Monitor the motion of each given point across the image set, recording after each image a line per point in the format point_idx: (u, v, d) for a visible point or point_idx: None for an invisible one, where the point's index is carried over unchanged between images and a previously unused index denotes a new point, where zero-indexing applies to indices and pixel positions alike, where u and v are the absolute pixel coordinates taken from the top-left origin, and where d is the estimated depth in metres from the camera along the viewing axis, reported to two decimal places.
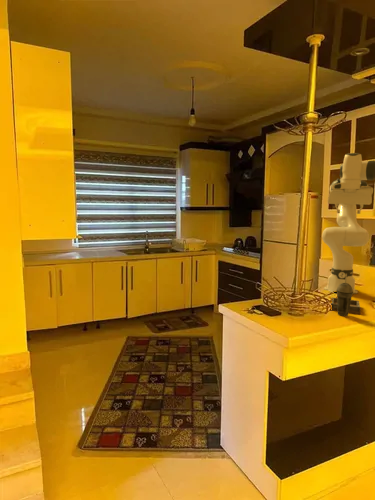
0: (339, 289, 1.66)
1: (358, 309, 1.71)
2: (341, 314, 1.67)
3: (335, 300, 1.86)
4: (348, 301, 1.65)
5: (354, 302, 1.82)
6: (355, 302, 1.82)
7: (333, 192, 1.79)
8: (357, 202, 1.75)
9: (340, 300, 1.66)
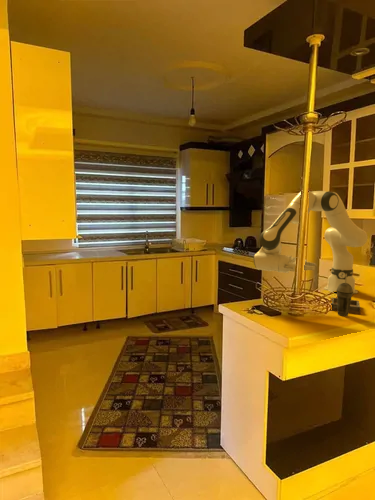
0: (339, 289, 1.66)
1: (358, 309, 1.71)
2: (341, 314, 1.67)
3: (335, 300, 1.86)
4: (348, 301, 1.65)
5: (354, 302, 1.82)
6: (355, 302, 1.82)
7: None
8: None
9: (340, 300, 1.66)
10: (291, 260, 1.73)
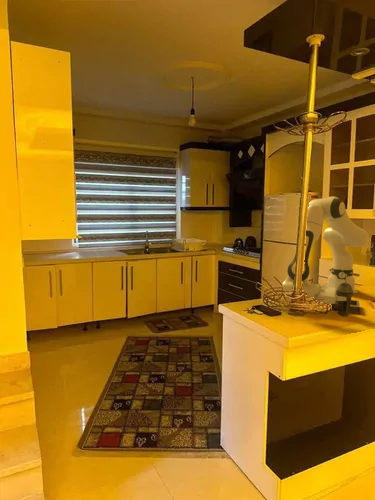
0: (339, 289, 1.66)
1: (358, 309, 1.71)
2: (341, 314, 1.67)
3: None
4: (348, 301, 1.65)
5: (354, 302, 1.82)
6: (355, 302, 1.82)
7: None
8: None
9: None
10: (321, 290, 1.69)
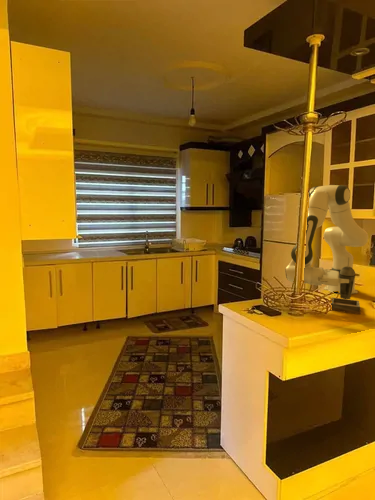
0: (342, 272, 1.70)
1: (358, 309, 1.71)
2: (344, 297, 1.71)
3: (335, 300, 1.86)
4: (351, 284, 1.69)
5: (354, 302, 1.82)
6: (355, 302, 1.82)
7: None
8: None
9: (342, 283, 1.70)
10: (324, 273, 1.73)
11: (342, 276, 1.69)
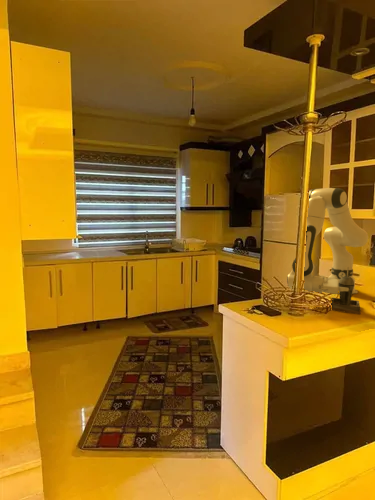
0: (341, 282, 1.76)
1: (358, 309, 1.71)
2: None
3: (335, 300, 1.86)
4: (350, 293, 1.75)
5: (354, 302, 1.82)
6: (355, 302, 1.82)
7: None
8: None
9: (342, 292, 1.77)
10: (325, 281, 1.80)
11: (341, 285, 1.76)
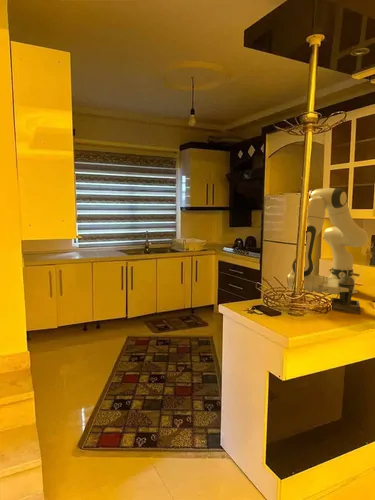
0: (341, 282, 1.76)
1: (358, 309, 1.71)
2: None
3: (335, 300, 1.86)
4: (350, 293, 1.75)
5: (354, 302, 1.82)
6: (355, 302, 1.82)
7: None
8: None
9: (342, 292, 1.77)
10: (325, 281, 1.80)
11: (341, 285, 1.76)
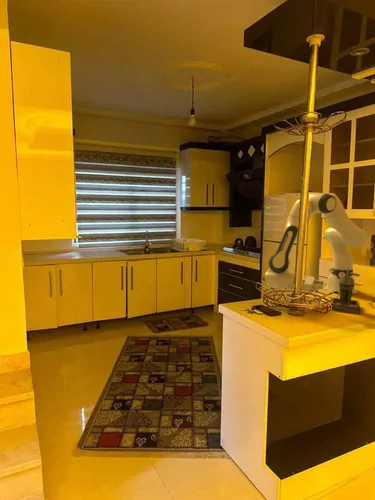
0: (341, 282, 1.76)
1: (358, 309, 1.71)
2: None
3: (335, 300, 1.86)
4: (350, 293, 1.75)
5: (354, 302, 1.82)
6: (355, 302, 1.82)
7: None
8: None
9: (342, 292, 1.77)
10: None
11: (341, 285, 1.76)
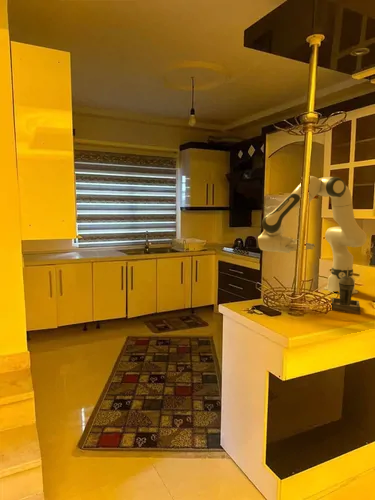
0: (341, 282, 1.76)
1: (358, 309, 1.71)
2: None
3: (335, 300, 1.86)
4: (350, 293, 1.75)
5: (354, 302, 1.82)
6: (355, 302, 1.82)
7: None
8: None
9: (342, 292, 1.77)
10: (292, 241, 1.89)
11: (341, 285, 1.76)
